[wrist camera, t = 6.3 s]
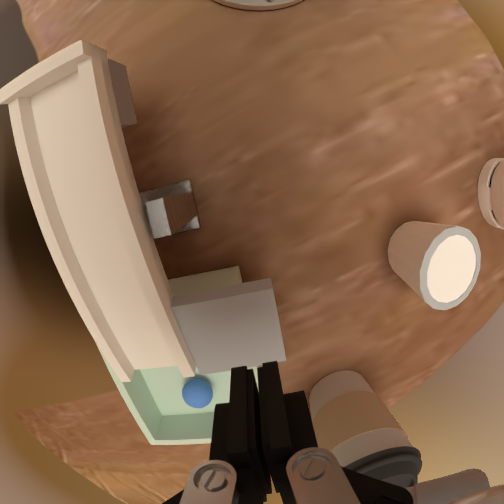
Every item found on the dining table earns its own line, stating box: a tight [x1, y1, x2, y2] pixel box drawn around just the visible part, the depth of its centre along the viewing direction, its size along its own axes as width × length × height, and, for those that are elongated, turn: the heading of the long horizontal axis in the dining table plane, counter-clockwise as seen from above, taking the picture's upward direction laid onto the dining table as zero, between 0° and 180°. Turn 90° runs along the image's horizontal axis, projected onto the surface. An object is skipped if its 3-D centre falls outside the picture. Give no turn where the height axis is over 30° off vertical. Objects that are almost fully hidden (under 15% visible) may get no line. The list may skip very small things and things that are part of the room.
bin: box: [96, 266, 262, 445], centre depth 25 cm, size 16×13×5 cm
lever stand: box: [139, 180, 201, 239], centre depth 20 cm, size 4×8×10 cm, turn 102°
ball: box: [182, 379, 213, 408], centre depth 26 cm, size 3×3×3 cm
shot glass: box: [387, 221, 481, 310], centre depth 22 cm, size 7×7×7 cm
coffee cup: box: [309, 370, 422, 488], centre depth 22 cm, size 9×9×15 cm
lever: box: [0, 40, 286, 382], centre depth 16 cm, size 21×12×6 cm, turn 12°
